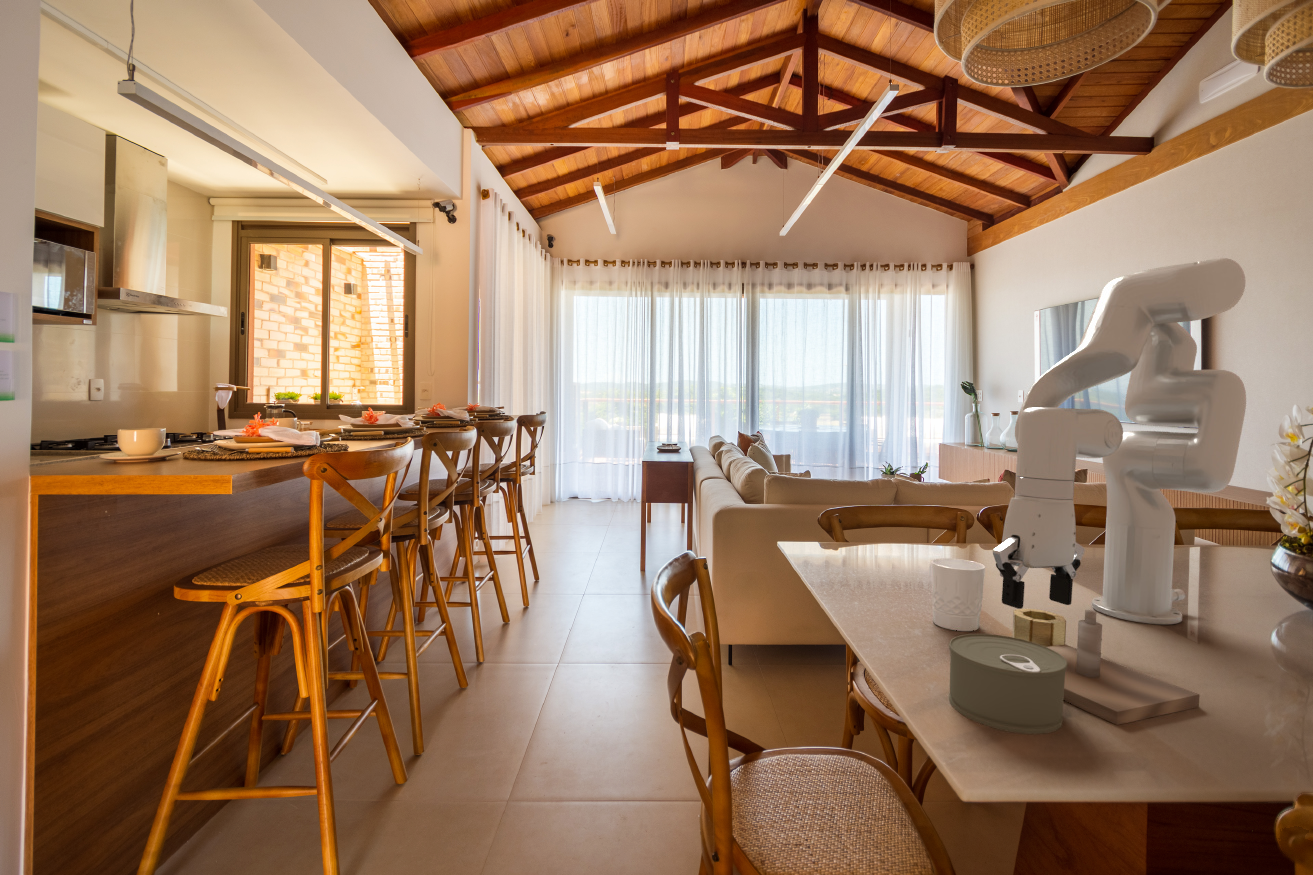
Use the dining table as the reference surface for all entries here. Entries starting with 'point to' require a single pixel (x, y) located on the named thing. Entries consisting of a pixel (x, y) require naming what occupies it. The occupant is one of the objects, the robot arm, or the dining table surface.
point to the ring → (1039, 627)
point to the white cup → (957, 593)
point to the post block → (1115, 682)
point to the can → (1007, 683)
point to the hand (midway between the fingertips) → (1036, 604)
